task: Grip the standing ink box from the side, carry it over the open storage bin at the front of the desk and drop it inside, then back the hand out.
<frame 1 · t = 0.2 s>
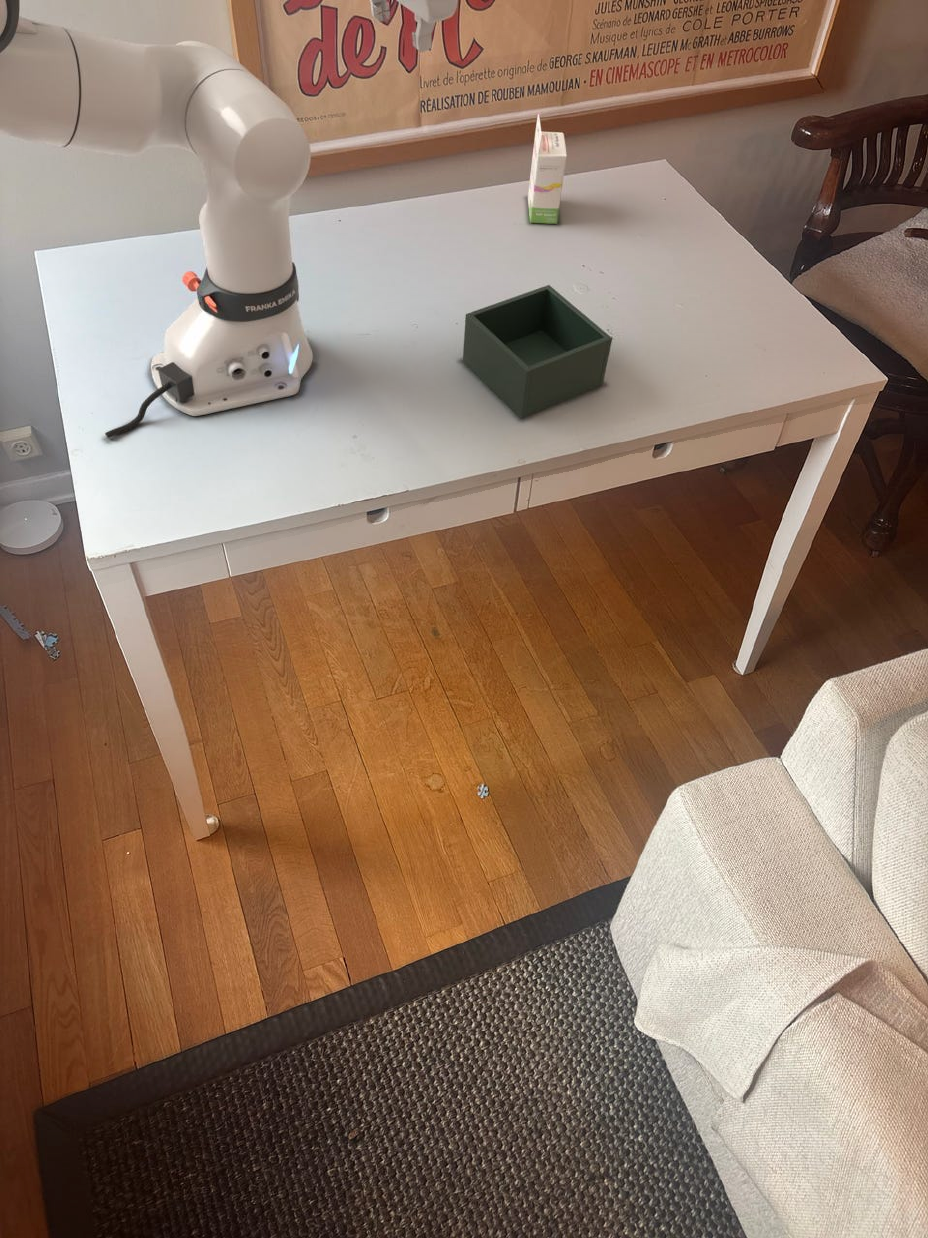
hand: (401, 33, 116), 39 cm above the table, tool pointing down, fingers open, 8 cm apart
open storage bin: (532, 372, 139), on the table
ink box: (542, 211, 167), on the table
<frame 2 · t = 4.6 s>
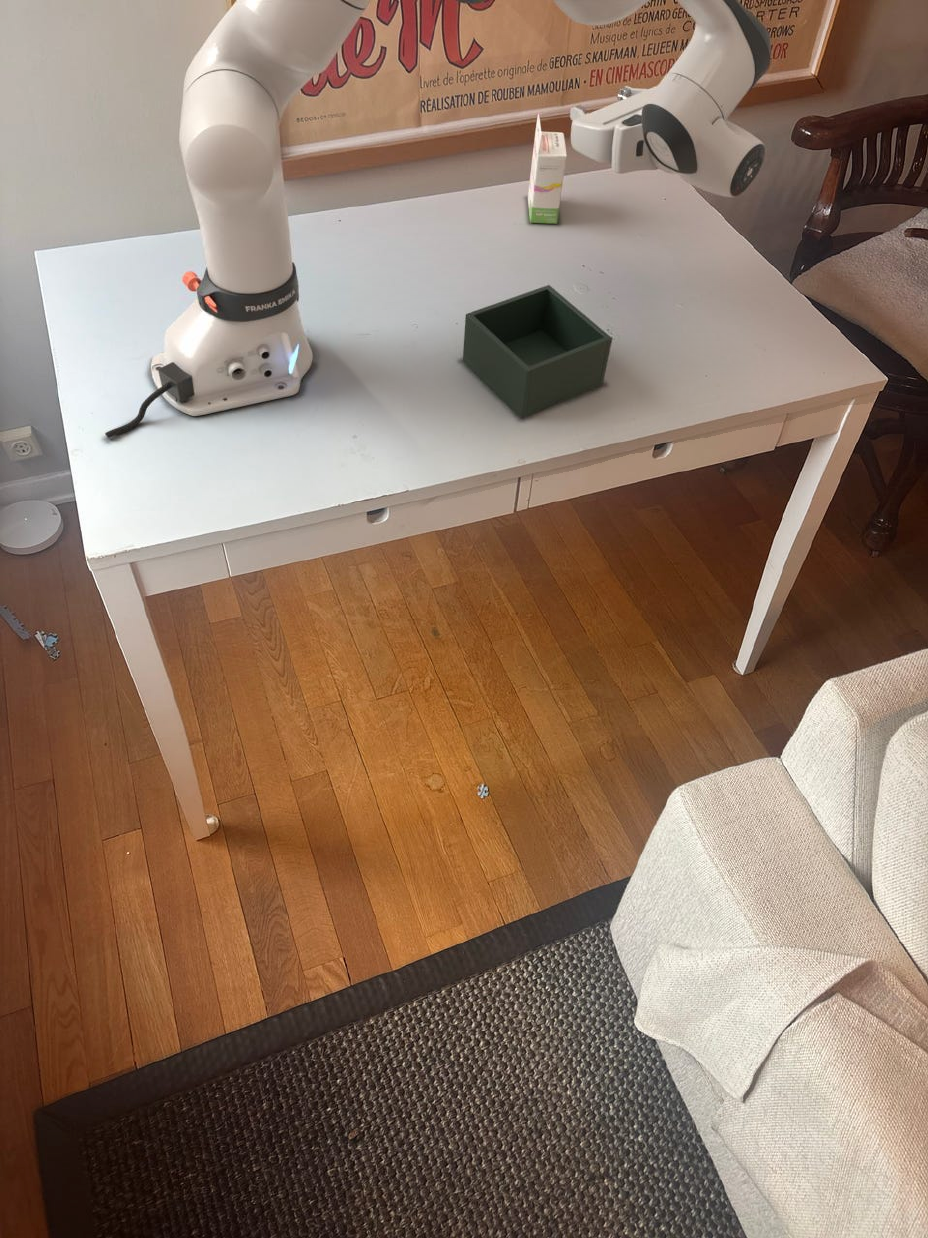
hand: (597, 101, 143), 23 cm above the table, tool horizontal, fingers open, 8 cm apart
nothing on the table moved.
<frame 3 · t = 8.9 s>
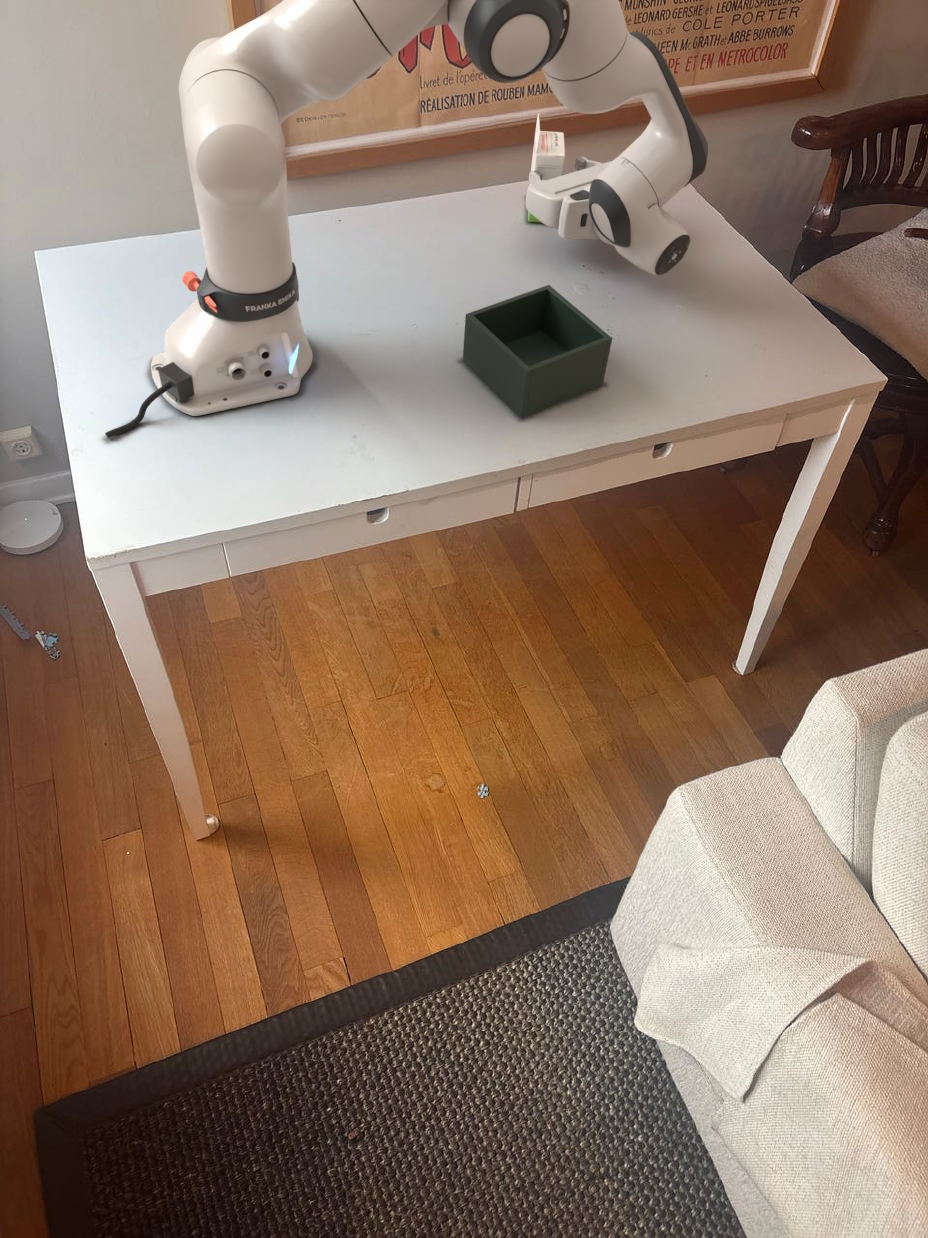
hand: (555, 168, 159), 8 cm above the table, tool horizontal, fingers open, 8 cm apart
ink box: (541, 211, 167), on the table, touching gripper
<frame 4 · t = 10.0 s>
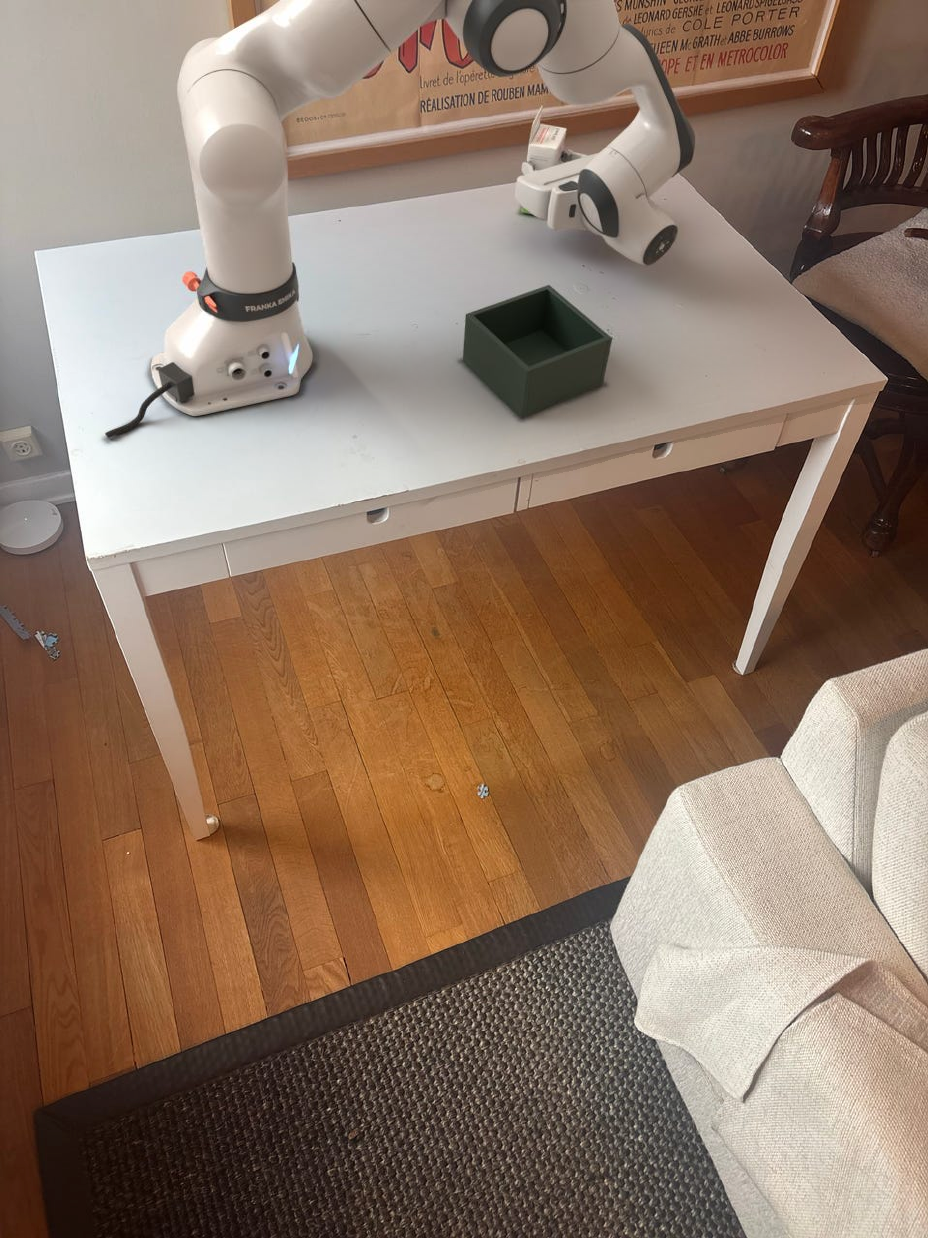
hand: (544, 159, 161), 9 cm above the table, tool horizontal, fingers closed on ink box, 7 cm apart
ink box: (539, 204, 168), on the table, touching gripper
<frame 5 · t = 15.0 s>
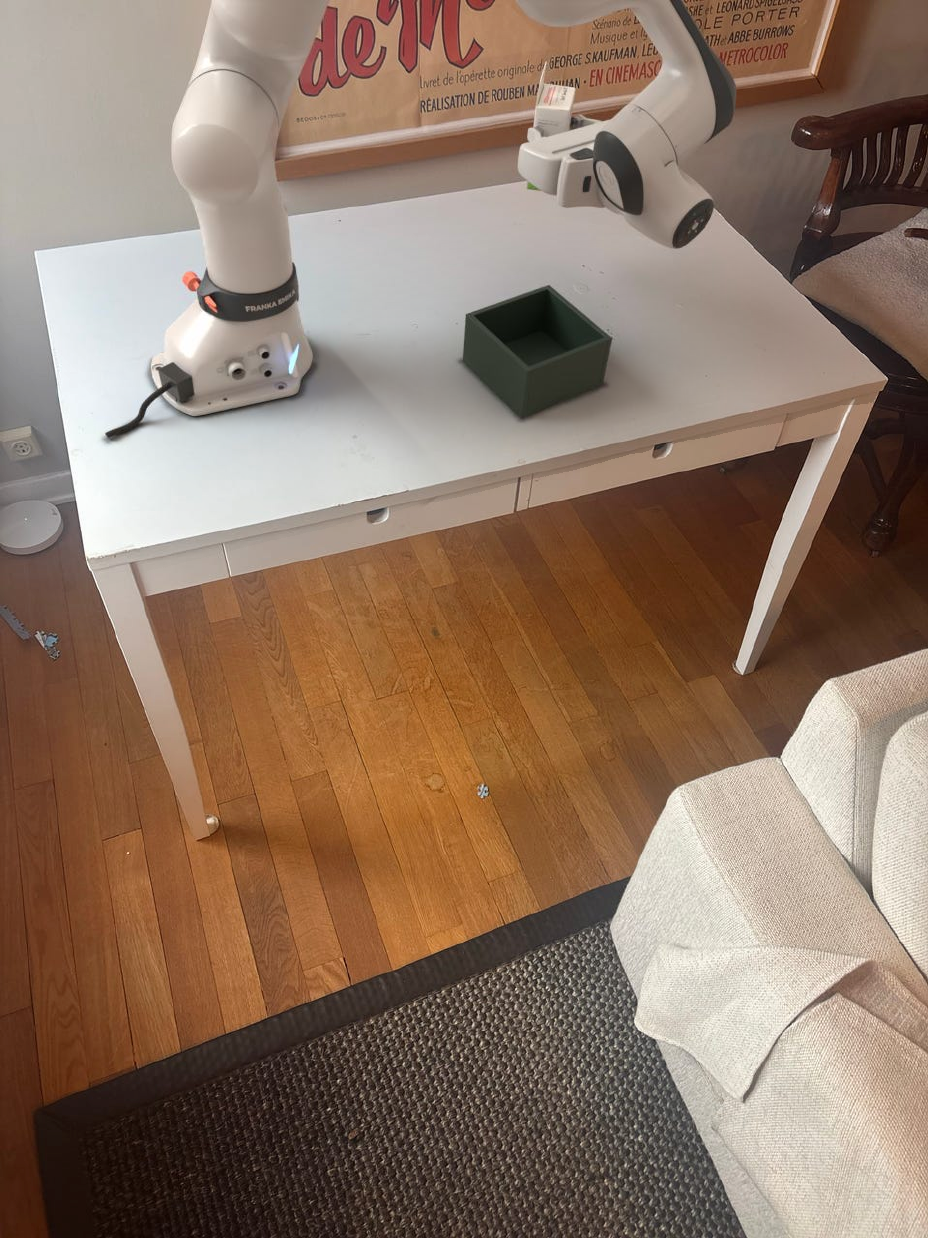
hand: (553, 126, 136), 24 cm above the table, tool horizontal, fingers closed on ink box, 6 cm apart
ink box: (545, 180, 144), point 15 cm above the table, touching gripper
when the fingers open (17 cm above the table, at t = 20.7 s): ink box stays where it is, point 7 cm above the table.
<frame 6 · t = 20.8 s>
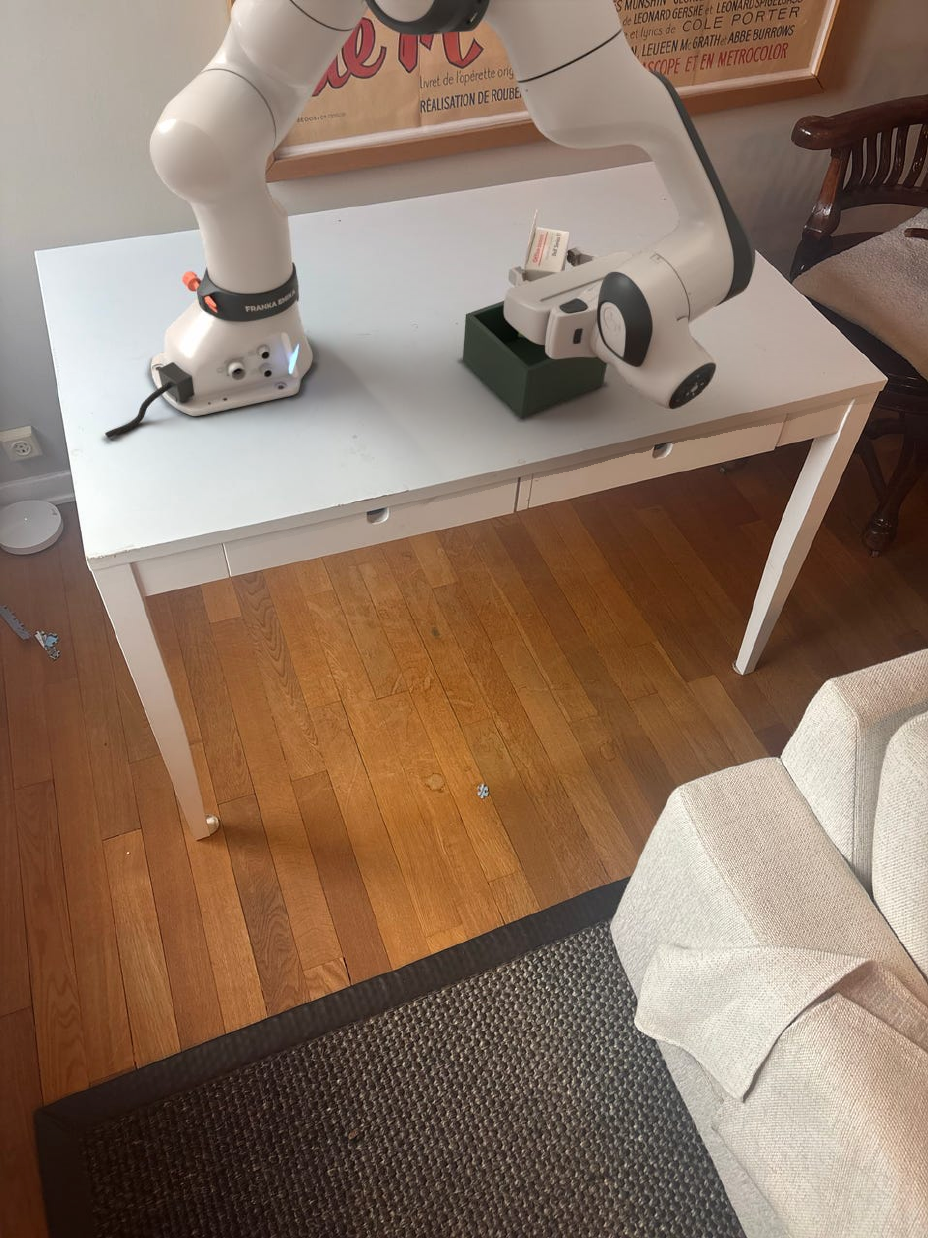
hand: (542, 262, 126), 17 cm above the table, tool horizontal, fingers open, 8 cm apart
ink box: (540, 319, 135), point 7 cm above the table, touching gripper
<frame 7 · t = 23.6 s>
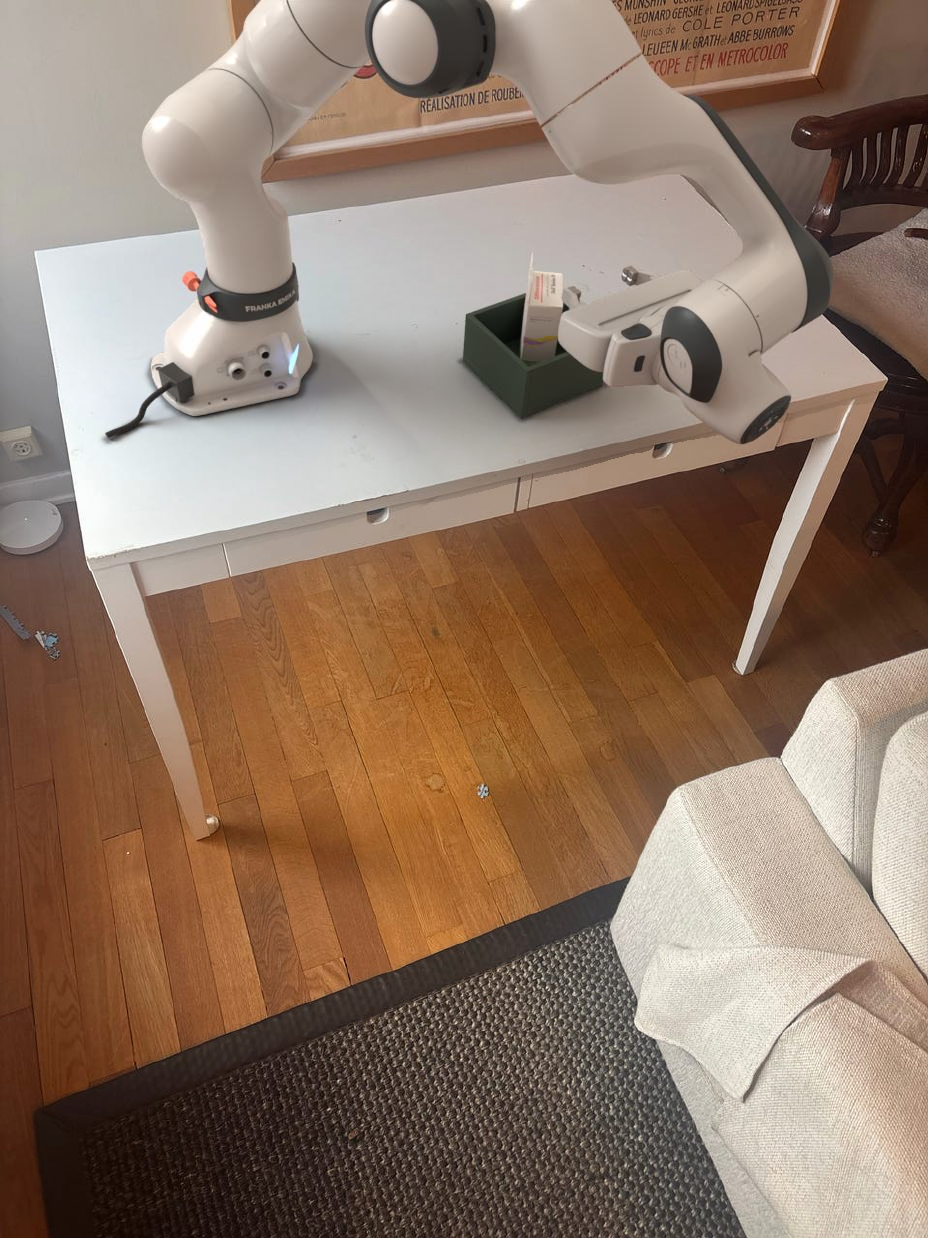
hand: (597, 281, 118), 21 cm above the table, tool horizontal, fingers open, 8 cm apart
ink box: (535, 360, 140), point 1 cm above the table, touching open storage bin
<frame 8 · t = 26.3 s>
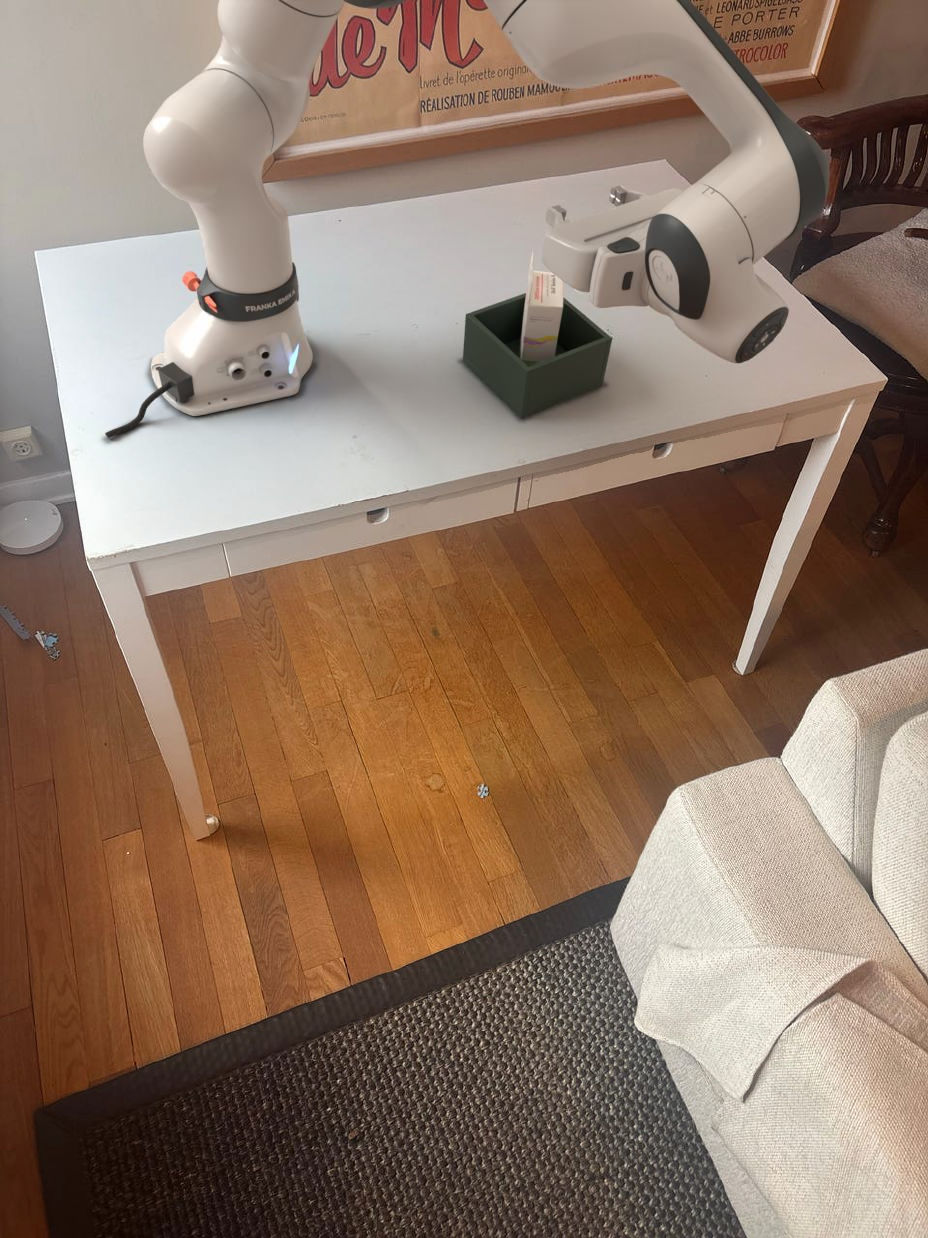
hand: (583, 201, 112), 30 cm above the table, tool horizontal, fingers open, 8 cm apart
nothing on the table moved.
at the end: ink box inside the target area in the open storage bin (1.8 cm from its centre), point 0.8 cm above the open storage bin's base; the gripper is holding nothing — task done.
